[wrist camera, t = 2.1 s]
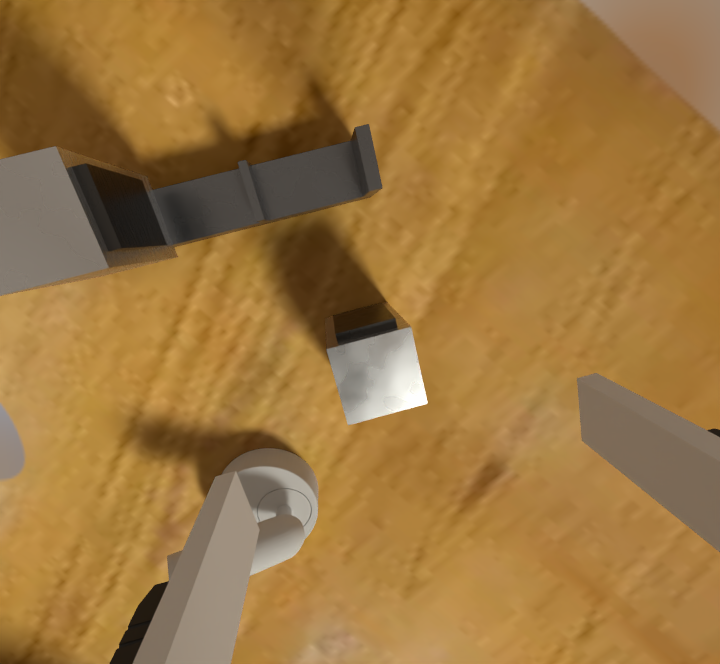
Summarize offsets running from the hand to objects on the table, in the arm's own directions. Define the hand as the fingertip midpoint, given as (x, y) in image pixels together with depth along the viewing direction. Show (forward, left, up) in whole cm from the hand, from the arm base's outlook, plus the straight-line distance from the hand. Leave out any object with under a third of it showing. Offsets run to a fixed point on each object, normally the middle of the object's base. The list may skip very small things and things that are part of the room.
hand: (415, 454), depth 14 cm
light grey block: (0, 0, -16) cm, 16 cm away
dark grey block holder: (-7, +12, -16) cm, 21 cm away
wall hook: (-12, -11, -16) cm, 23 cm away
